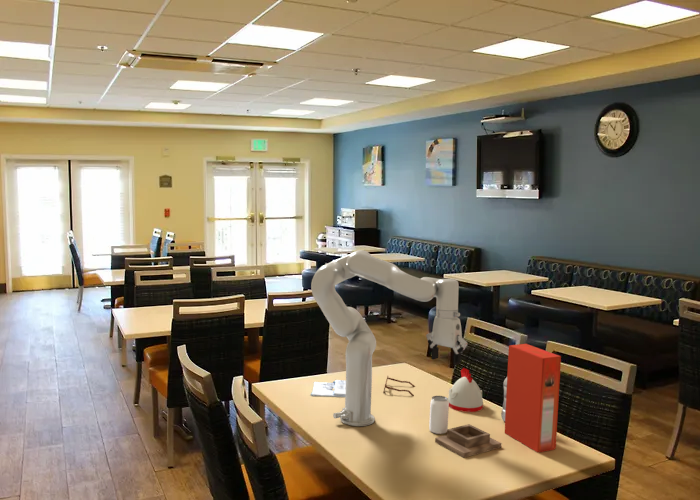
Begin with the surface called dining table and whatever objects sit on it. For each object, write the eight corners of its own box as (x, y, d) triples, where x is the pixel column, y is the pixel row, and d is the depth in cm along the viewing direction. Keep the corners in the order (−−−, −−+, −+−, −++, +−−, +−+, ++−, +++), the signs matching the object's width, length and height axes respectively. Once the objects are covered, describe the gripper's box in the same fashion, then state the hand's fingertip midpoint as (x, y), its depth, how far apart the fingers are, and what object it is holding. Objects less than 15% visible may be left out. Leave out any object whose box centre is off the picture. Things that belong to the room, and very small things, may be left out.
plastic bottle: (498, 418, 233) (501, 367, 231) (515, 418, 233) (518, 367, 231) (504, 425, 226) (507, 372, 224) (521, 425, 227) (525, 372, 225)
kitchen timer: (471, 398, 254) (473, 363, 253) (489, 410, 241) (491, 373, 240) (441, 401, 250) (443, 365, 249) (457, 413, 237) (459, 375, 236)
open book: (358, 399, 251) (359, 394, 251) (309, 397, 251) (309, 392, 251) (358, 384, 270) (358, 379, 270) (312, 383, 270) (313, 378, 270)
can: (447, 435, 215) (448, 402, 214) (428, 433, 216) (430, 400, 215) (447, 428, 221) (449, 396, 220) (429, 426, 222) (431, 394, 221)
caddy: (463, 457, 197) (464, 444, 197) (435, 442, 209) (435, 429, 208) (501, 447, 206) (501, 434, 206) (471, 432, 218) (472, 420, 217)
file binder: (536, 452, 203) (542, 358, 200) (503, 433, 218) (508, 345, 215) (555, 449, 206) (561, 356, 203) (522, 430, 222) (527, 343, 219)
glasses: (385, 385, 270) (385, 374, 270) (415, 387, 268) (415, 376, 268) (382, 394, 257) (383, 383, 257) (414, 397, 255) (414, 385, 255)
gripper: (473, 316, 213) (472, 364, 214) (434, 309, 225) (433, 354, 227) (460, 319, 208) (459, 368, 209) (421, 311, 220) (420, 358, 222)
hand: (445, 361), depth 218 cm, fingers open, 9 cm apart
